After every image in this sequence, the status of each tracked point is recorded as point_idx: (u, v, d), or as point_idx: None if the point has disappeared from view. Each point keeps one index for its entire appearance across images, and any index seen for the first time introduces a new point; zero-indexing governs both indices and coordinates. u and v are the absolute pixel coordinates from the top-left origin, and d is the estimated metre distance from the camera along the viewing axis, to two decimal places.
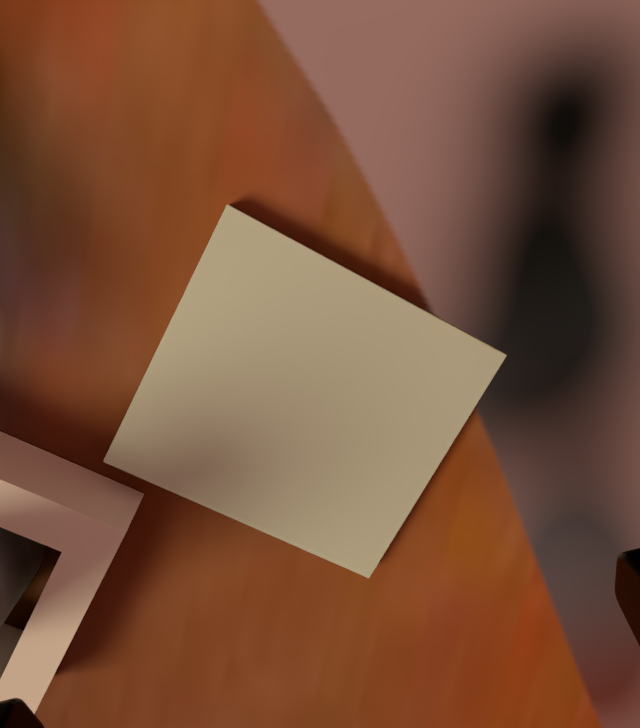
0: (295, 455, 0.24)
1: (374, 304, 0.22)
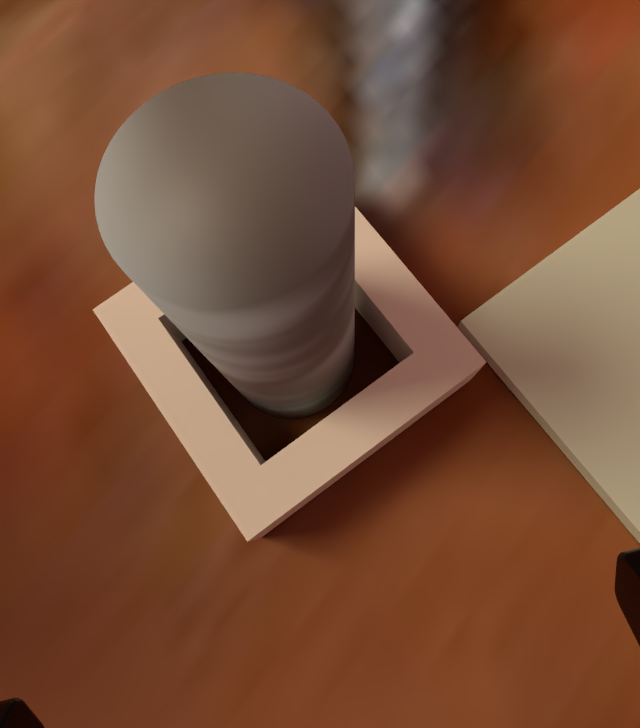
0: None
1: None
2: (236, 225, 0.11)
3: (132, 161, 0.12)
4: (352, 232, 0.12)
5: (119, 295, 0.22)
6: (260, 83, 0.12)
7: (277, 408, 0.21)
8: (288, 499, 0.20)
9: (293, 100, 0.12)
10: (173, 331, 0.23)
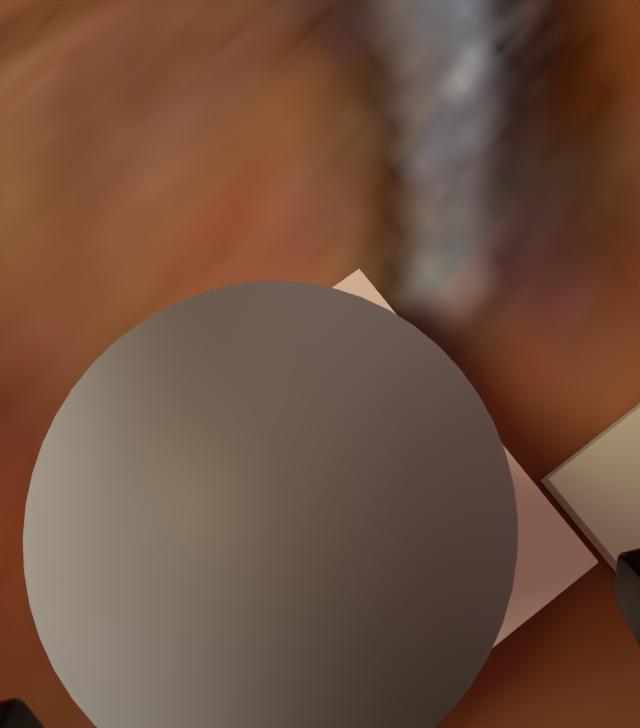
0: None
1: None
2: (291, 603, 0.06)
3: (95, 456, 0.06)
4: None
5: None
6: (330, 303, 0.07)
7: None
8: None
9: (390, 338, 0.06)
10: None
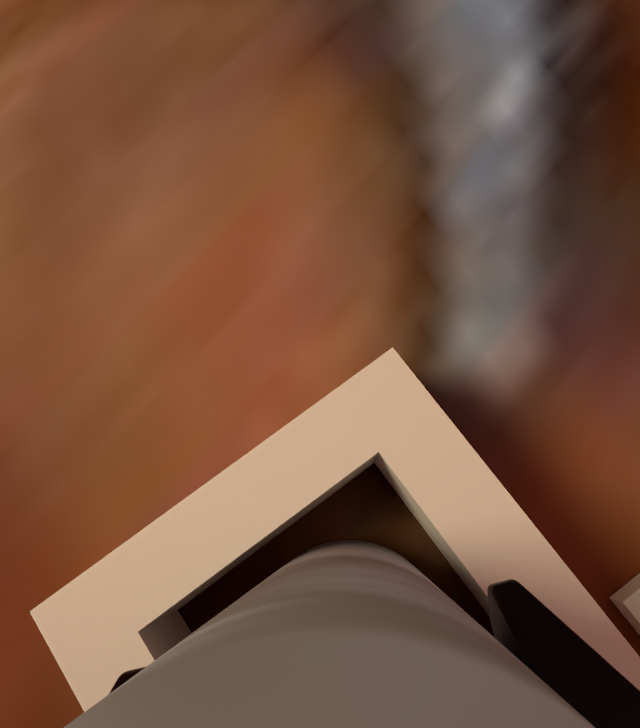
0: None
1: None
2: None
3: None
4: None
5: (74, 587, 0.13)
6: (448, 692, 0.03)
7: None
8: None
9: None
10: (164, 616, 0.15)
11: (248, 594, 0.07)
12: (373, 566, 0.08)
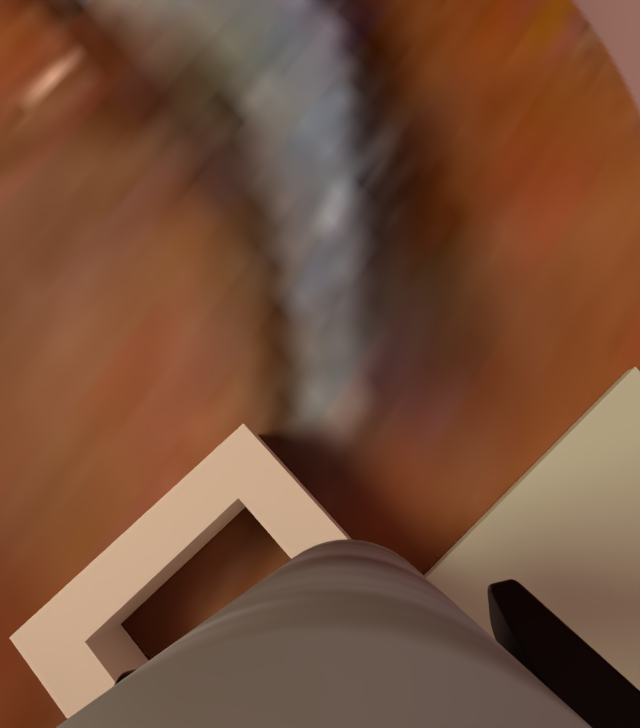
0: None
1: None
2: None
3: None
4: None
5: (38, 617, 0.19)
6: (442, 690, 0.03)
7: None
8: None
9: None
10: (107, 629, 0.21)
11: (245, 593, 0.07)
12: (371, 565, 0.08)
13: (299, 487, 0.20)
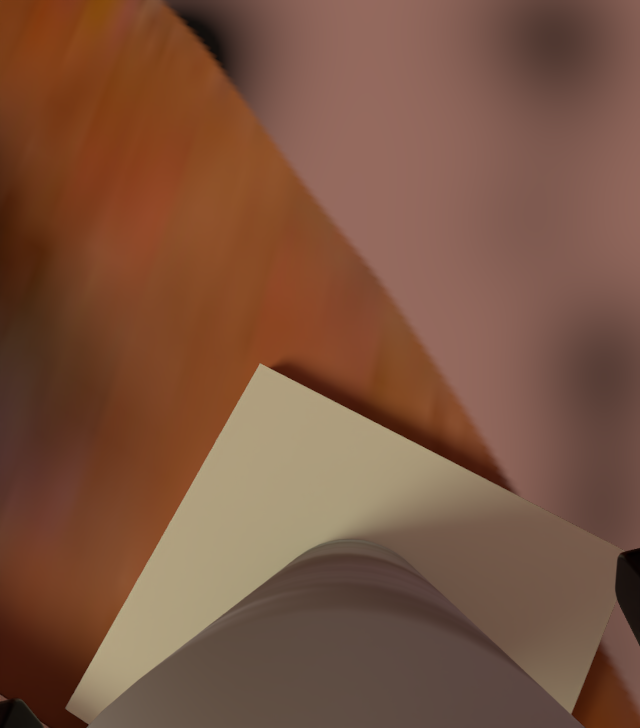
0: None
1: (440, 481, 0.17)
2: None
3: None
4: None
5: None
6: (424, 654, 0.04)
7: None
8: None
9: (522, 720, 0.04)
10: None
11: (262, 587, 0.08)
12: (371, 563, 0.09)
13: None
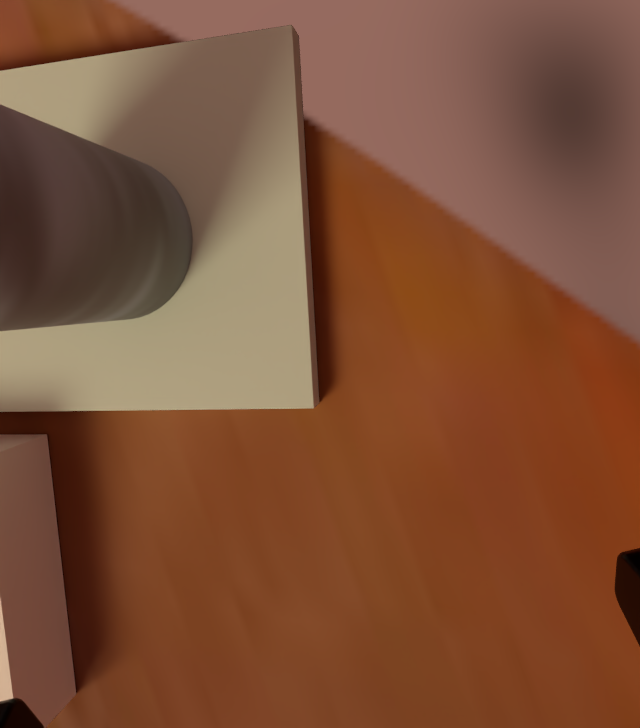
0: None
1: (116, 75, 0.18)
2: None
3: None
4: None
5: None
6: None
7: (112, 316, 0.17)
8: None
9: None
10: None
11: None
12: None
13: None
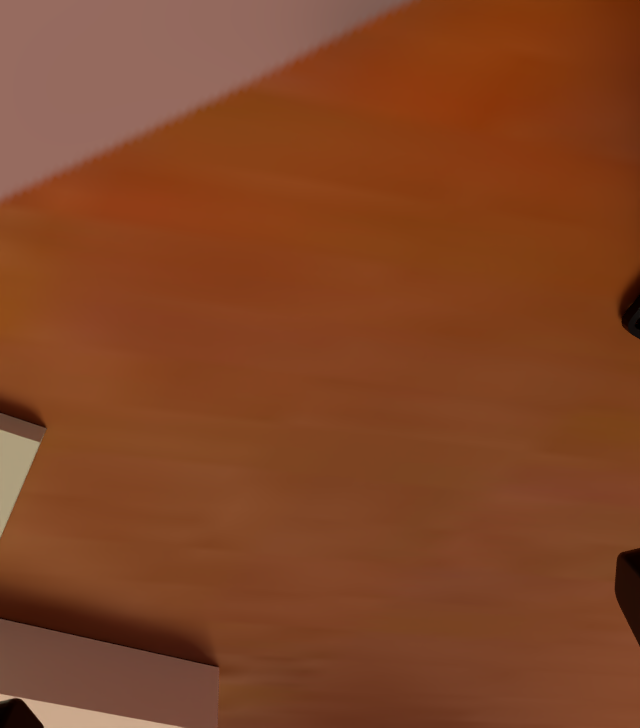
0: None
1: None
2: None
3: None
4: None
5: None
6: None
7: None
8: None
9: None
10: None
11: None
12: None
13: None
